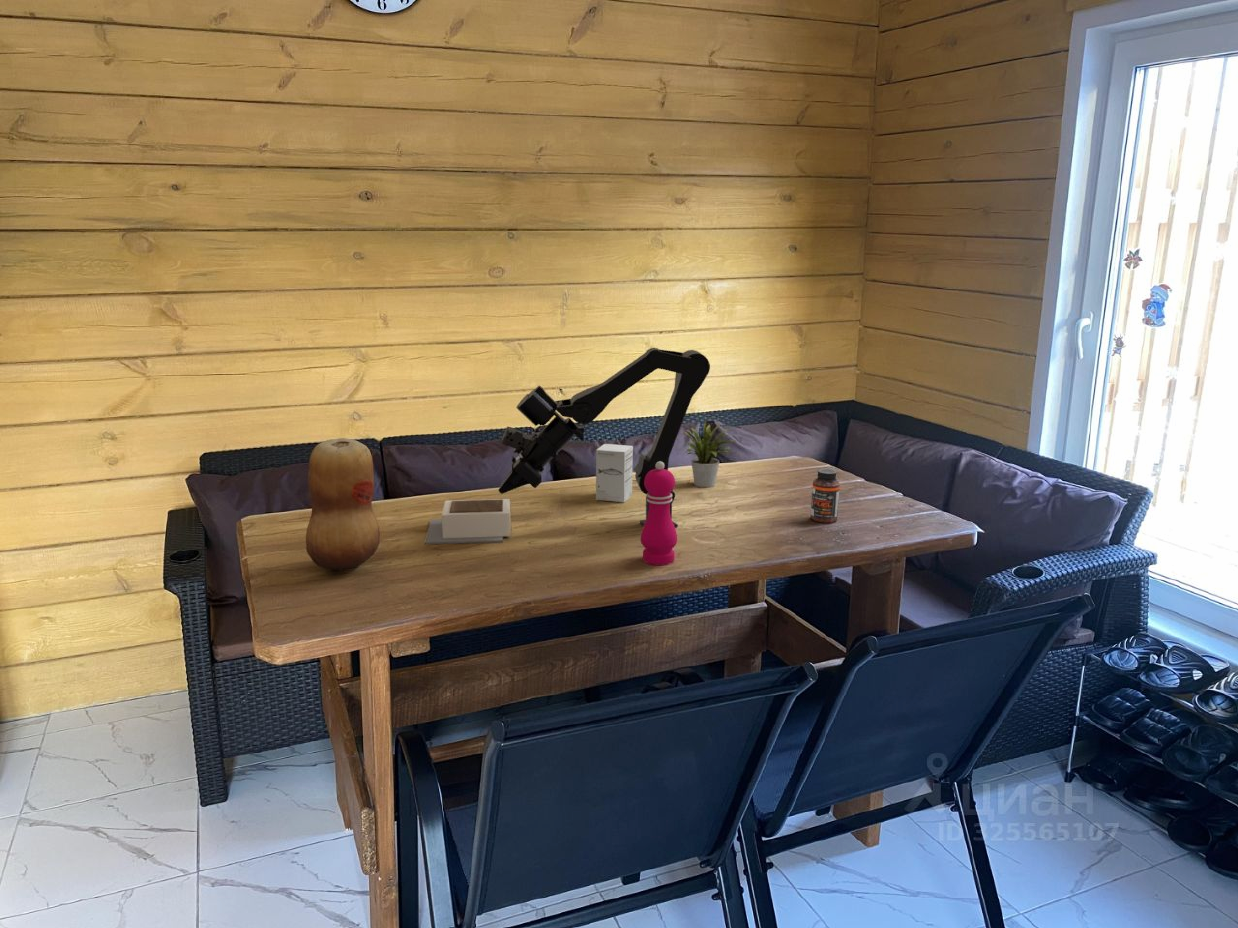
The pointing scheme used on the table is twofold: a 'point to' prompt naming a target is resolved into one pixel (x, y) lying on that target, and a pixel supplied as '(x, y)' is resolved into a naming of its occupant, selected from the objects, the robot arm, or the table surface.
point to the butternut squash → (341, 505)
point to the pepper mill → (659, 518)
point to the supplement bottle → (825, 497)
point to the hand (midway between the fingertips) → (500, 492)
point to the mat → (437, 538)
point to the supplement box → (614, 472)
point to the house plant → (705, 456)
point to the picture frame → (476, 518)
